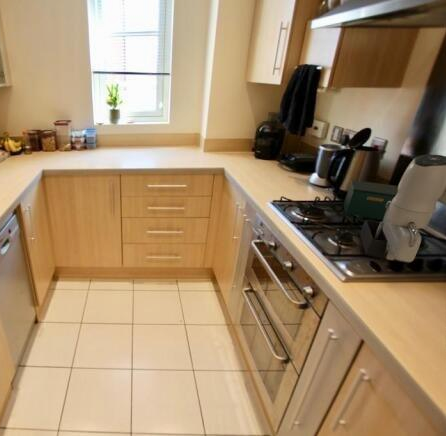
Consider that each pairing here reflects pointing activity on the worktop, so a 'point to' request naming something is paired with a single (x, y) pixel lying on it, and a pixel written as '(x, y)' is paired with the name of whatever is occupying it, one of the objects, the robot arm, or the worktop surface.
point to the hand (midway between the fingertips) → (388, 257)
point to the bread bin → (368, 199)
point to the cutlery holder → (379, 242)
